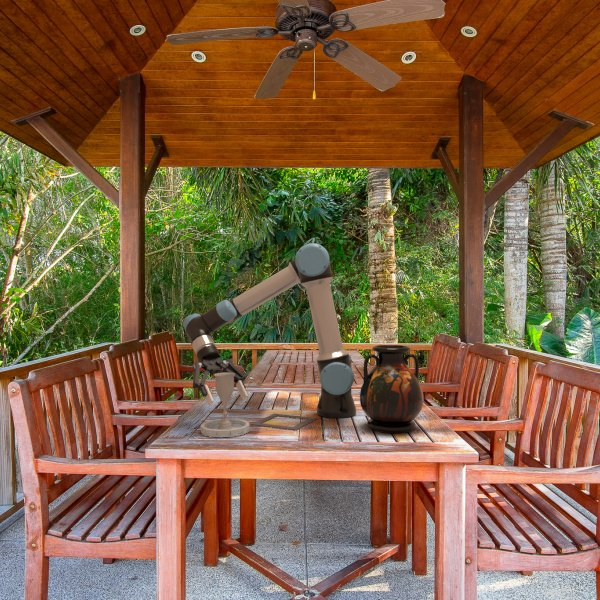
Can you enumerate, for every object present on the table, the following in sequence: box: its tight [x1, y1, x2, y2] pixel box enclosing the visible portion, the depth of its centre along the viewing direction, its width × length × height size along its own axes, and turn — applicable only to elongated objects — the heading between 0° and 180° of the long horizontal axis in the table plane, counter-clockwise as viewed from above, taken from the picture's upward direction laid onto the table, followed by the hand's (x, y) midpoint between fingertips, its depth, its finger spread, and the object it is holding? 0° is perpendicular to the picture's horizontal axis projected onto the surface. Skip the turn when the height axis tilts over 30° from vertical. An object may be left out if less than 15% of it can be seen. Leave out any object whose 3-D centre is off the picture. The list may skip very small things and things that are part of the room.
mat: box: [250, 413, 318, 431], centre depth 185 cm, size 18×18×1 cm
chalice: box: [213, 373, 235, 430], centre depth 172 cm, size 7×7×18 cm
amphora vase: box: [359, 344, 425, 434], centre depth 176 cm, size 22×22×28 cm
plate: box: [199, 418, 250, 438], centre depth 172 cm, size 16×16×2 cm
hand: (229, 400), depth 170 cm, fingers open, 12 cm apart
